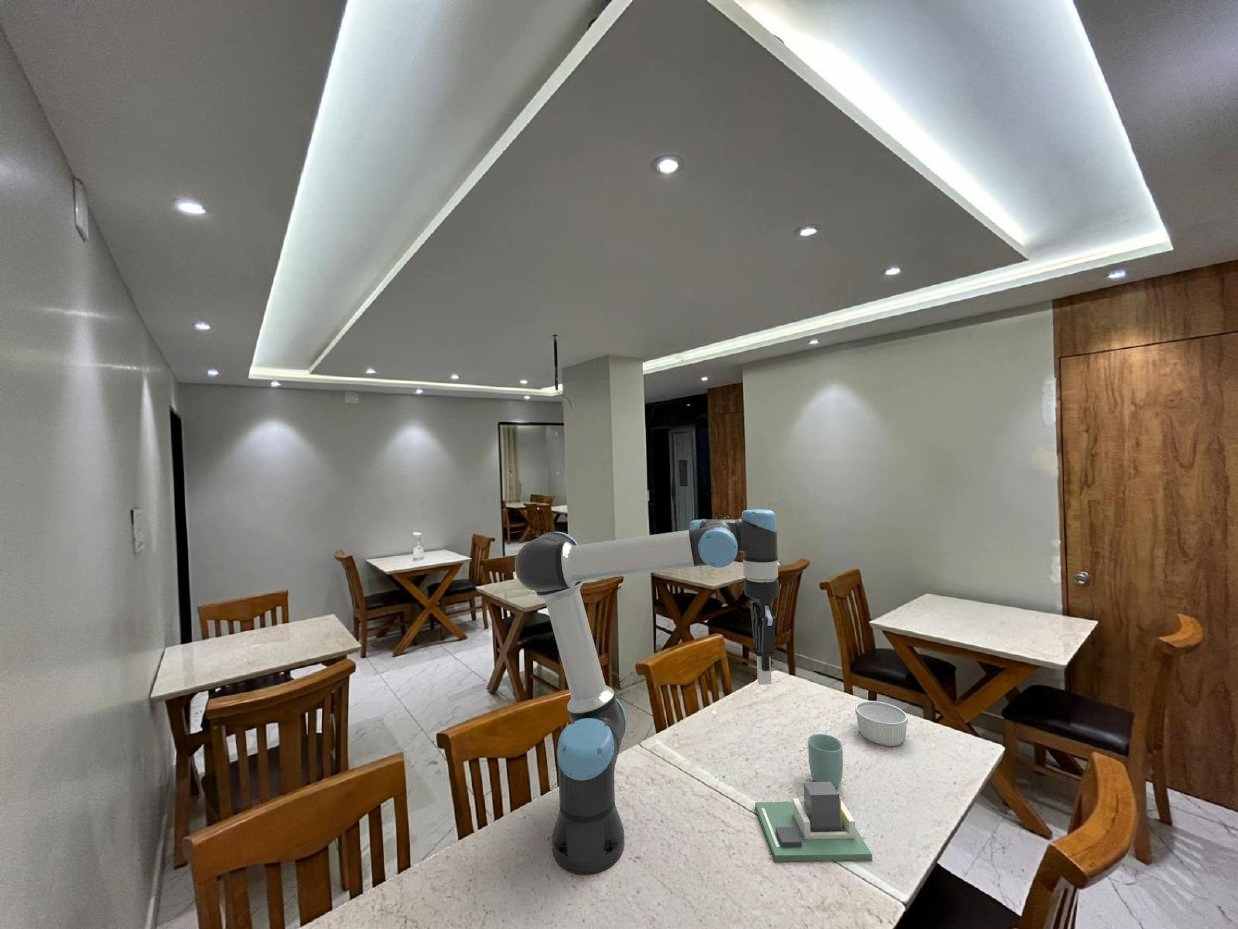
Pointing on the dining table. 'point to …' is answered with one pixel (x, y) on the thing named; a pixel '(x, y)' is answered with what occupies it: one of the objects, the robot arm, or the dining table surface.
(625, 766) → the dining table surface
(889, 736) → the ramekin
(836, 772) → the cup
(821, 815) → the plug
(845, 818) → the board
